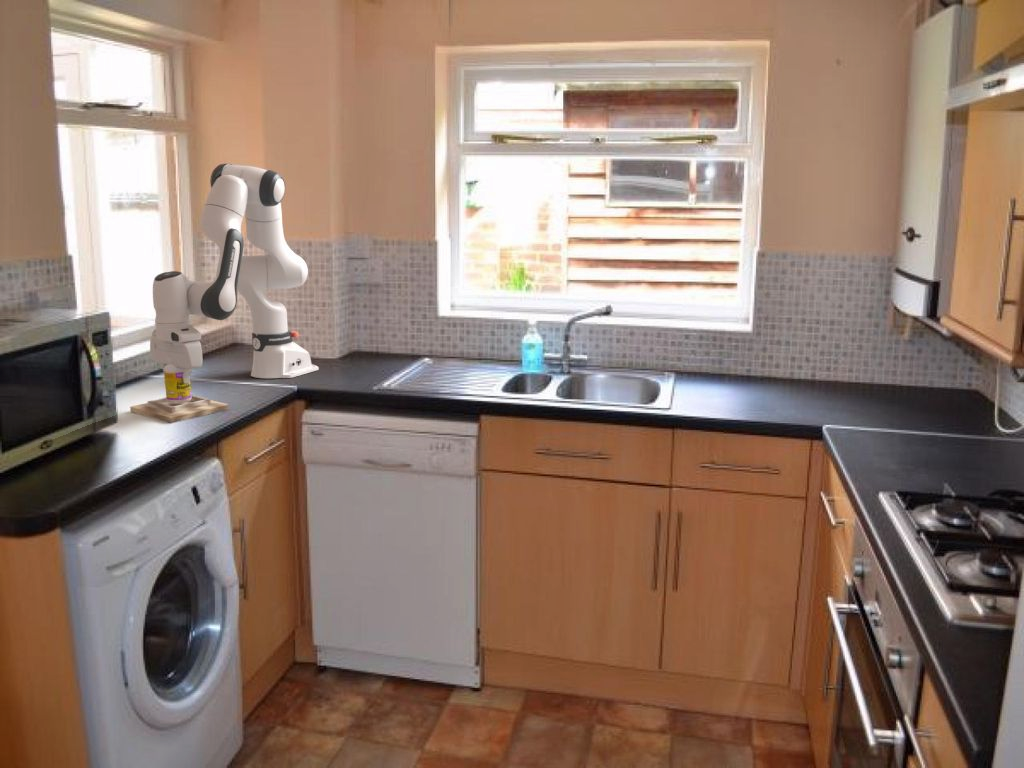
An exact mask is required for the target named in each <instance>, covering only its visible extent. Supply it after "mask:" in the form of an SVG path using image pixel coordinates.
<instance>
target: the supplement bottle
mask: <svg viewBox="0 0 1024 768" xmlns="http://www.w3.org/2000/svg"><path fill="white" fill-rule="evenodd" d="M166 358H167V362H168V365H166V366H165V367H164V371H163V375H164V376H163V377H164V387H165V398H166V399H167V402H169V403H174V404H178V403H185V402H188V401H190V400H191V399H192V396H191V395H192V386H191V385H192V384H191V382H190V383H182V382H181V377H183V373H184V371H182V368H181V367H177V366H174V365H173V358H171V357H166Z"/></svg>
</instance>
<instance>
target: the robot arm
mask: <svg viewBox="0 0 1024 768" xmlns="http://www.w3.org/2000/svg"><path fill="white" fill-rule="evenodd" d="M209 184H210V188H211V189H210V190H209V193H208V195H207V197H206V200H205V202H204V204H203V205H204V206H203V209H202V212H201V215H200V222H199V226H200V229H201V231H202V233H203V234H204V236H205V237H206V238H207V239H208V240H209V241H210V242H212V243H214V244H215V245H216V246H217V247H218V250H219V258H218V263H217V269H216V274H215V278H214V279H213V280H212V281H211V282H207V281H206V282H205V281H199V280H198V281H197V280H195V279H193V278H189V277H187V276H186V275H184V274H183V272H182V271H177V270H173V271H172V270H171V271H165V272H162V273H159V274H157V275H156V276H155V277H154V279H153V283H152V302H153V304H152V305H153V309H154V311H155V319H154V325H155V328H154V330H153V331H152V333H151V337H150V340H149V354H150V355H149V356H150V359H151V361H152V362H154V363H155V362H156V363H159V364H161V365H160V366H161V369H162V371H163V372H164V367H165V366H166V365H168V362H167V358H166V357H171V358H173V365H174V366H177V367H181V368H182V371H184V373H183V377H181V382H182V383H190V384H191V375H192V371H193V370H196V369H201V367H202V366H203V348H202V343H201V342H200V341H201V340H202V333H201V331H200V330H198V329H196V328H195V327H194V326H193V325H192V324H191V323H190V316H196V317H202V318H207V319H208V318H209V319H213V320H216V321H223V320H226V319H228V318H230V316H231V315H233V313H234V311H235V310H236V308H237V304H238V293H239V294H240V295H241V296H242V297H243V298H244V300H245V301H246V303H247V305H248V307H249V310H250V315H251V323H252V324H251V325H252V333H251V343H252V347H253V357H252V358H253V359H252V368H251V373H250V377H253V378H257V379H292V378H295V377H299V376H302V375H307V374H308V373H312V372H316V371H319V369H320V368H319V366H317V365H315V364H313V363H312V360H311V355H310V353H309V351H308V350H306V349H305V348H304V347H301V345H299V344H297V343H296V342H294V339H293V338H295V339H297V338H298V337H299V335H300V334H299V332H298V331H290V330H289V325H288V310H287V308H286V306H285V305H284V304H283V303H282V302H280V301H278V300H275V299H272V298H271V297H270V296H268V295H267V294H266V291H268V290H288V289H289V290H290V289H293V288H298V287H301V286H303V285H304V284H305V283H306V281H307V279H308V276H309V269H308V265H307V263H306V262H305V259H303V258H302V257H301V256H299V255H298V254H296V253H295V252H294V251H293V250H292V249H291V248H290V246H289V245H288V244H287V243H288V242H287V241H286V239H285V235H284V227H283V226H284V225H283V214H282V213H283V211H282V201H283V199H284V197H285V194H286V193H285V192H286V183H285V180H284V178H283V176H282V174H280V173H279V172H276V171H274V170H272V169H271V170H270V169H269V170H268V169H265V168H261V167H258V166H257V167H256V166H254V165H253V166H251V165H241V164H232V163H221V164H218V165H217V166H215V168H214V169H213V170H212V172H211V174H210V183H209ZM244 217H245V230H246V231H245V233H246V234H245V235H246V239H247V241H248V242H249V243H250V244H251V245H252V246H253V247H256V248H258V249H260V250H262V251H264V252H265V253H266V255H243V253H244V243H245V242H244V236H243V234H242V224H243V220H244Z"/></svg>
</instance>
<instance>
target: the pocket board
mask: <svg viewBox="0 0 1024 768" xmlns="http://www.w3.org/2000/svg"><path fill="white" fill-rule="evenodd" d="M191 396H192V399H191V400H190V401H188V402H185V403H178V404H174V403H169V402H167V399H166V397H161V398H158V399H153V400H148V401H147V402H145V403H141V404H136V405H132V406H129V408H130V410H129V411H130V412H131V413H133V412H134V413H133V414H137V413H138V415H140V414H141V415H140V416H144V417H149V418H151V419H154V418H155V420H158V419H159V420H158V421H162V422H165V421H166V423H169V422H170V423H169V424H174V423H178V421H179V422H182V421H181V420H183V421H186V419H187V420H191V419H195V418H194V417H196V418H200V417H203V416H208V414H209V415H213V414H216V412H217V413H220V412H219V411H221V412H224V411H223V410H226V411H229V410H230V404H228V403H225V402H219V401H215V400H212V399H210V398H206V397H202V396H198V395H194V394H191ZM228 409H229V410H228ZM212 413H213V414H212ZM199 416H200V417H199ZM190 418H191V419H190Z"/></svg>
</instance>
